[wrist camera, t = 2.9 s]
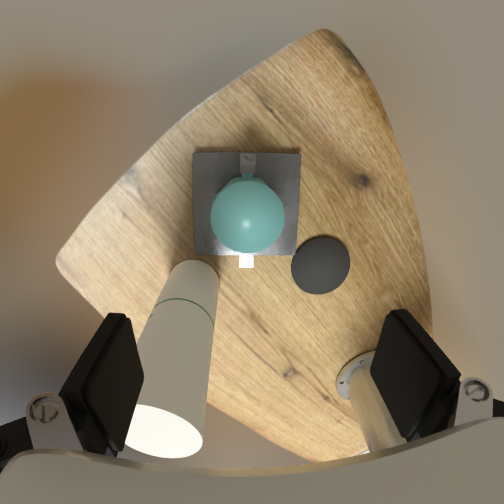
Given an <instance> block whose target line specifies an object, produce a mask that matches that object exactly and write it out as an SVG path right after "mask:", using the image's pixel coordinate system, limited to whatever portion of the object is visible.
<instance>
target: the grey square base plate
mask: <svg viewBox="0 0 504 504" xmlns="http://www.w3.org/2000/svg"><path fill="white" fill-rule="evenodd" d="M300 166H301V154H288V153H261V152H199V153H193V212H194V240H195V255H239V268H253V257H254V255H295V253H296V239H297V224H298V207H299V188H300ZM242 173H253V178H261V179H262V180H263V181H264V182H265V183H266V184H267V185H268V186H269V187H270V188H271V189H272V190H273V191H274V192H275V193H276V195H277V196H278V197H279V198H280V199H281V201H282V203H283V208H284V213H285V220H284V226H283V229H282V232H281V234H280V235H279V237H278V238H277V240H276V241H275V242H274V243H273V244H272V245H270V246H269V247H267V248H266V249H264V250H262V251H259V252H255V253H240V252H236V251H233V250H231V249H229V248H227V247H226V246H225V245H223V244H222V243H221V242H220V241H219V240H218V238H217V237H216V235H215V233H214V231H213V229H212V225H211V210H212V202H213V200H214V198H215V196H216V194H217V193H218V192H219V191H220V190H221V189H222V188H223V187H225V186H226V185H227V184H228V183H229V182H230V181H231V180H232V179H233V178H234V179H235V177H242Z"/></svg>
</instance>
